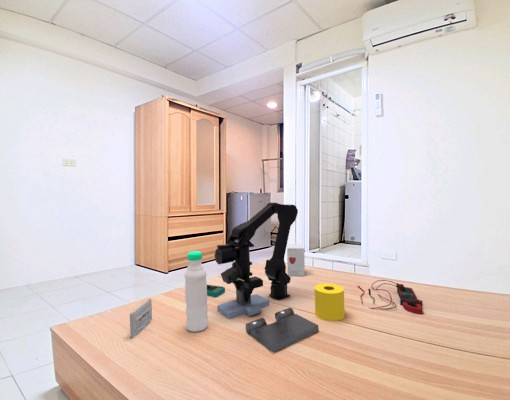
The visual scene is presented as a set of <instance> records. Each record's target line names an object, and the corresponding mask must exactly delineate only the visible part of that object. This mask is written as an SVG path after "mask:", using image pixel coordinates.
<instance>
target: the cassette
mask: <svg viewBox="0 0 510 400" xmlns="http://www.w3.org/2000/svg"><path fill="white" fill-rule="evenodd" d="M152 303H153V302H152V298H148V299H147V300H146V301H145V302H143V303H142V304H141V305H139V306H138V307H137V308H136V309H134V310H133V311H132V312H130V313H129V327H130V328H129V330H130V331H129V332H130V333H129V335H130V338H131V339H134V338H135V337H136V336H138V335H139V334H140V333H141V332H142V331H143V330H144V329H145V328H146V327H148V325H150V324H151V322H152V321H153V309H152V308H153V307H152V305H153V304H152ZM151 320H152V321H151ZM150 321H151V322H150ZM149 323H150V324H149Z"/></svg>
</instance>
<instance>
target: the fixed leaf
mask: <svg viewBox="0 0 510 400" xmlns="http://www.w3.org/2000/svg"><path fill="white" fill-rule="evenodd" d="M274 318H275V321H274V322H272V323H269V324H267V320H266V318H264V317H260V318H258V319H255V320H252V321H250V322H246V323H245V331H246V333H247V334H248V335H250V336H251V337H252V338H253V339H255V341H257V342H258V343H260V344H261V345H263V346H264V347H265V348H267V350H269V351H270V352H272V353H274V354H275V353H277V352H279V351H280V350H284V349H286V348H287V347H289V346H291V345H293V344H296V343H298V342H300V341H302V340H304V339H306V338H308V337H310V336H312V335H314V334H316V333H319V332H320V330H319V324H317V323H315V322H313V321H311V320H309V319H307V318H305V317H303V316H302V315H299V314H297V313H295V311H294V309H293V308H292V307H288V308H285V309H282V310H280V311H277V312H275V313H274Z"/></svg>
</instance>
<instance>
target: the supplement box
mask: <svg viewBox="0 0 510 400" xmlns="http://www.w3.org/2000/svg"><path fill="white" fill-rule="evenodd" d="M286 250H287V251H286V252H287V253H286V254H287V257H286V260H287V266H286V267H287V275H288V276H289V277H305V276H306V275H305V273H306V272H305V264H306V263H305V245H304V244H287V246H286Z"/></svg>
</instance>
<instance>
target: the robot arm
mask: <svg viewBox="0 0 510 400" xmlns="http://www.w3.org/2000/svg"><path fill="white" fill-rule="evenodd" d="M298 211H299V210H298V208H297V206H296V205H294V204H282V203H278V202H269V203H267V204H266V205H264V207H263V208H262V209H261V210H259V211H258V212H257V213H255V215H253V216H252V217H251V218H250V219H249V220H247V221H245V222H242V223H239V224H238V225H237V226H235V227H233V228H232V230H231V234H230V236H229V238H228V239H227V241H226V243H225V244H217V245H216V247H217V248H216V249H215V253H214V259H215V262H216V263H217V265H223V264H229V263H232V264H231V267H229V268H227V269H225V270H223V272H221V273H220V276H221V278H222V281H223V283H225V284H227V285H231V284H233V285H234V288H235V291H236V290H237V289H240V288H243V290H244V298H245V302H248V301H249V298H250V296H251V295H253V291H254V289H258V288H261V287H264V279H262V278H261V277H260V276H259V277H258V276H256V275H255V276H253V272H251V266H252V265H253V261H251V259H250V255H251V254H250V253H251V251H250V248H254V247H255V244H254V243H253V242H252V241H251V240H252V239H253V237H254V236H255V234H256V232H257V230H258V229H259V228H260V227H261V226H262V225H263V224H264V223H266V222H267V221H268V220H269V219H271V217H272V216H274V215H275V214H277V220H278V223H279V224H278V229H277V234H276V236H275V237H276V238H275V242H274V246H273V252H272V255H271V258H270V259H266V260H265V261H266V262H265V266H264V267H263V269H264V274H265V275H266V277H267V279H268V281H271V282H270V293H269V294H268V295H269V296H270V297H272V298H274V299H275V300H277V301H278V300H279V301H280V300H283V299H285V298H289V297H290V296H291V294H289V293H288V284H290V283H291V276H288V273H287V272H286V269H287V266H286V263H285V256H286V252H287V251H286V250H287V247H288V242H289V236H290V231H291V227H292V225H293V224H294V222H295V221H296V219H297V216H298V213H299V212H298Z"/></svg>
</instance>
